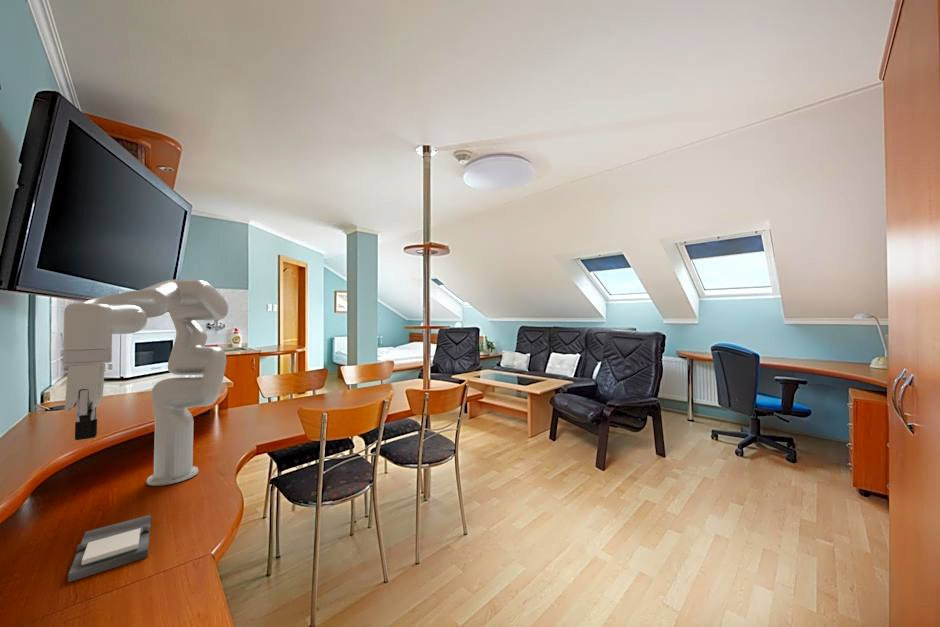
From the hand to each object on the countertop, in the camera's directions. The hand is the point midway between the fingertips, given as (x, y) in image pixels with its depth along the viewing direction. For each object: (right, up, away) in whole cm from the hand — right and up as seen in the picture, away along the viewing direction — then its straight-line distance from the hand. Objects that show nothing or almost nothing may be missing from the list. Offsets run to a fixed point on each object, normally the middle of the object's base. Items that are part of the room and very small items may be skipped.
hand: (86, 437), depth 79 cm
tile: (+13, -20, -6) cm, 24 cm away
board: (+10, -23, -3) cm, 25 cm away
